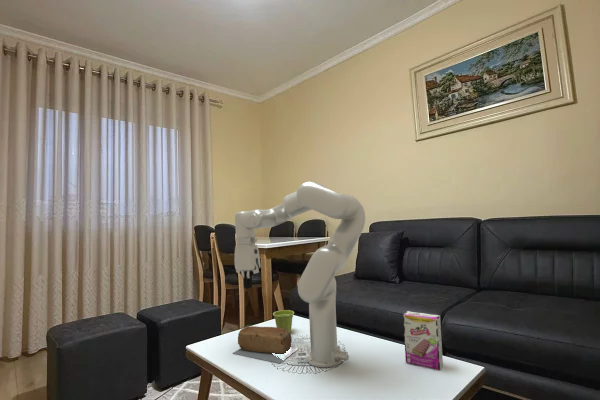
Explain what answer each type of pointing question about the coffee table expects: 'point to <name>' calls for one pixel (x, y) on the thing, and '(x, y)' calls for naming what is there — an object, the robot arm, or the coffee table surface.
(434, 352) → the candy bar box
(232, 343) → the coffee table surface
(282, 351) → the block
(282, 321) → the plant pot
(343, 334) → the coffee table surface
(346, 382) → the coffee table surface
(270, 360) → the mat
